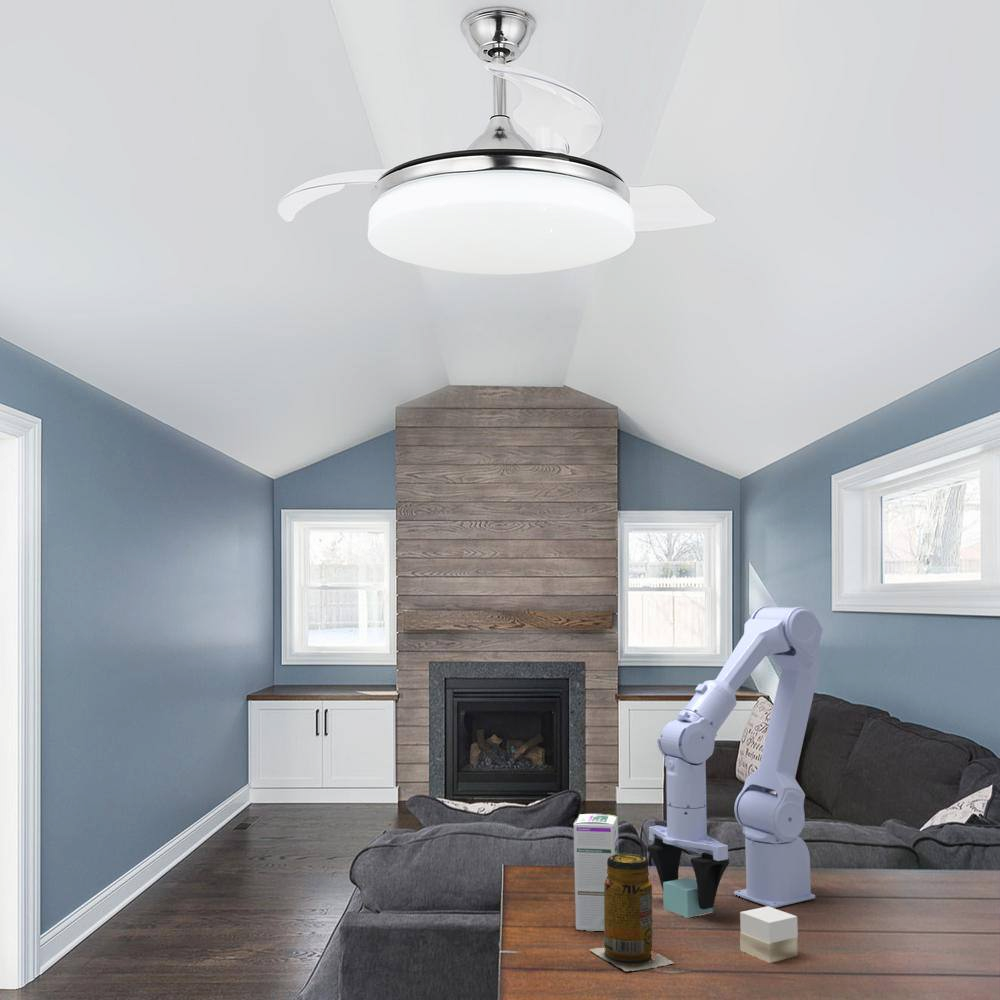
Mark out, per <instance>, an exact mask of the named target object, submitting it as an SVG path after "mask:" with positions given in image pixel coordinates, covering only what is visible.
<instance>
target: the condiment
mask: <svg viewBox="0 0 1000 1000" xmlns="http://www.w3.org/2000/svg"><path fill="white" fill-rule="evenodd" d="M649 863H650V862H649V860H648V858H646V857H645V856H643V855H639V854H636V853H635V854H632V853H619V854H615V855H612V856H610V857H609V858H608V860H607V874H608V876H607V878H606V879H605V882H604V932H603V933H604V934H603V935H604V938H603V939H604V944H603V945H604V947H595V948H590V949H589V951H590V952H592V953H593V954H595V955H596V956H598V957H599V958H601V959H603V960H604V961H606V962H610V964H612V965H614V966H615V967H616V968H619V969H621V970H623V971H624V972H630V971H631V972H634V971H641V970H649V969H656V968H658V967H662V966H664V967H665V966H668V965H671V964H672V965H673V964H675V962H674V961H672V960H671V959H668V958H667V957H665V956H663V955H662V954H659V953H657V952H656V953H657V954H656V956H659V957H656V956H655V960H651V959H652V958H651V956H652V955H651V952H652V951H653V949H652V948H653V922H654V921H653V893H652V892H653V886H652V881H651V880H650V878H649V875H650V872H649ZM604 949H605V950H604ZM649 961H650V962H649Z"/></svg>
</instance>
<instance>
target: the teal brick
mask: <svg viewBox="0 0 1000 1000" xmlns="http://www.w3.org/2000/svg"><path fill="white" fill-rule="evenodd" d="M662 893H663V894H662V898H663V899H662V900H663V902H662V903H663V905H662V906H663V907H662V908H664V909H667V910H669V911H672V912H675V913H677V914H679V915H682V916H684V917H687V918H689V917H692V916H695V915H700V914H704V913H709V912H713V913H714V907H713V908H709V909H704V910H703V909H700V907H699V902H698V889H697V881H696V878H691V877H689V876H688V877H682V878H678V879H677V880H672V881H667V882H663V890H662ZM664 909H663V910H664Z"/></svg>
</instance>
